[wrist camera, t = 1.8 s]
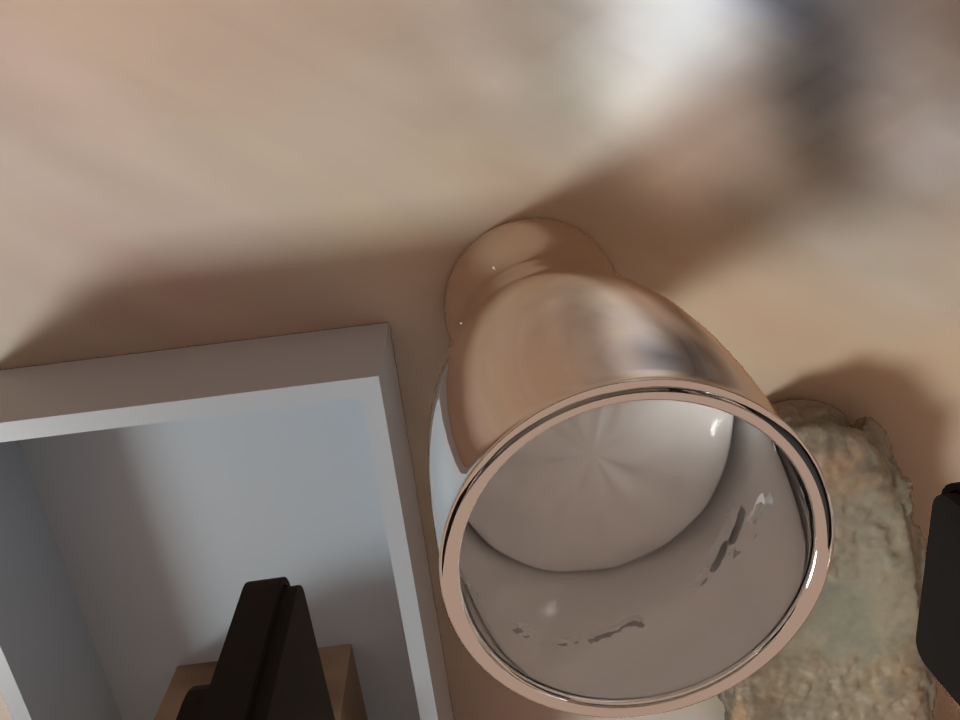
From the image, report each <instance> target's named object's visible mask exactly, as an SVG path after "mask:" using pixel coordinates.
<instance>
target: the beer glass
mask: <svg viewBox="0 0 960 720" xmlns="http://www.w3.org/2000/svg"><path fill="white" fill-rule="evenodd" d="M444 308H445V318H446V324H447V328H448V331H449V334H450V337H451V340H452V344H451V346H450V348H449V350H448V352H447V354H446V357H445V360H444V363H443V366H442V369H441V372H440V375H439V378H438V381H437V384H436V388H435V391H434V396H433V401H432V407H431V417H430V428H429V438H428V464H429V486H430V497H431V506H432V514H433V522H434V529H435V535H436V541H437V547H438V554H439V582H440V589H441V595H442V599H443V603H444V606H445V610H446V612H447V615H448V618H449V620H450V623H451V625H452V627H453V629H454V631H455V633H456V635H457V636H458V638H459V640H460V641H461V643H462V644H463V646H464V647H465V649H466V650H467V651H468V653H469V654H470V655H471V656H472V658H473V659H474V660H475V661H476V662H477V663H478V664H479V665H480V666H481V667H482V668H483V669H484V670H485V671H486V672H487V673H488V674H490V675H491V676H492V677H493V678H494V679H496V680H497V681H498V682H500V683H501V684H503V685H504V686H506V687H507V688H509V689H510V690H512V691H514V692H515V693H517V694H519V695H521V696H523V697H525V698H527V699H529V700H531V701H533V702H536V703H538V704H541V705H544V706H546V707H549V708H553V709H556V710H559V711H563V712H568V713H572V714H577V715H583V716H592V717H605V718H627V717H639V716H647V715H654V714H660V713H665V712H669V711H673V710H677V709H681V708H684V707H687V706H690V705H693V704H696V703H699V702H702V701H704V700H707V699H709V698H711V697H714V696H716V695H718V694H720V693H722V692H724V691H726V690H728V689H730V688H731V687H733V686H735V685H737V684H738V683H740V682H742V681H743V680H745V679H746V678H748V677H750V676H751V675H752V674H754V673H755V672H757V671H758V670H759V669H761V668H762V667H763V666H764V665H766V664H767V663H768V662H769V661H770V660H771V659H773V658H774V657H775V656H776V655H777V654H778V653H779V652H780V651H781V650H782V649H783V648H784V647H785V646H786V645H787V644H788V643H789V642H790V641H791V639H792V638H793V637H794V636H795V635H796V633H797V632H798V631H799V630H800V628H801V627H802V625H803V624H804V623H805V621H806V620H807V618H808V617H809V615H810V613H811V612H812V610H813V608H814V607H815V605H816V603H817V601H818V599H819V597H820V595H821V592H822V590H823V588H824V585H825V582H826V579H827V576H828V573H829V570H830V566H831V562H832V557H833V551H834V542H835V517H834V508H833V503H832V498H831V494H830V491H829V488H828V484H827V482H826V479H825V477H824V474H823V472H822V470H821V468H820V466H819V464H818V462H817V460H816V459H815V457H814V455H813V454H812V452H811V451H810V449H809V448H808V446H807V445H806V444H805V443H804V441H803V440H802V439H801V438H800V437H799V435H798V434H797V433H796V432H795V431H794V430H793V429H792V428H791V427H790V426H789V425H788V424H786V423H785V422H784V420H783V419H782V418H781V416H780V415H779V413H778V412H777V411H776V409H775V408H774V407H773V405H772V404H771V402H770V401H769V400H768V398H767V397H766V396H765V394H764V393H763V392H762V391H761V389H760V388H759V387H758V386H757V384H756V383H755V382H754V380H753V379H752V378H751V377H750V375H749V374H748V373H747V372H746V370H745V369H744V368H743V366H742V365H741V364H740V363H739V362H738V361H737V360H736V359H735V358H734V357H733V356H732V354H731V353H730V352H729V351H728V350H727V349H726V348H725V347H724V346H723V345H722V344H721V343H720V342H719V340H718V339H717V338H716V337H715V336H714V335H713V334H712V333H711V332H709V331H708V330H707V329H706V328H705V327H704V326H703V325H701V324H700V323H699V322H698V321H696V320H695V319H694V318H693V317H691V316H690V315H689V314H688V313H687V312H685V311H684V310H683V309H682V308H680V307H679V306H678V305H676V304H675V303H674V302H672V301H671V300H669V299H668V298H666V297H664V296H662V295H661V294H659V293H657V292H655V291H653V290H651V289H649V288H647V287H645V286H643V285H641V284H639V283H637V282H635V281H632V280H630V279H628V278H625V277H622V276H619V275H616V274H615V271H614V269H613V267H612V265H611V263H610V261H609V259H608V258H607V256H606V255H605V253H604V252H603V251H602V249H601V248H600V247H599V246H598V245H597V244H596V243H595V242H594V241H593V240H592V239H591V238H590V237H588V236H587V235H586V234H584V233H583V232H581V231H580V230H578V229H576V228H574V227H572V226H570V225H567V224H565V223H561V222H558V221H554V220H548V219H522V220H516V221H512V222H509V223H506V224H503V225H500V226H498V227H496V228H494V229H492V230H490V231H488V232H487V233H485V234H483V235H482V236H481V237H479V238H478V239H477V240H476V241H474V242H473V243H472V244H471V245H470V246H469V247H468V248H467V249H466V251H465V252H464V253H463V254H462V256H461V257H460V258H459V260H458V262H457V263H456V265H455V267H454V269H453V271H452V273H451V275H450V278H449V281H448V284H447V287H446V293H445V302H444Z"/></svg>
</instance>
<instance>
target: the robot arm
mask: <svg viewBox="0 0 960 720" xmlns="http://www.w3.org/2000/svg"><path fill="white" fill-rule="evenodd" d="M916 646H917V650H918V653H919V655H920V657H921V659H922V661H923V663H924V664H925V665H926V667H927V668H928V669H929V670H930V671H931V673H932V674H933V675H934V676H935V677H936V678H937V680H938V681H939V682H940V683H941V684H942V685H943V687H944V688H945V689H946V690H947V691H948V692H949V694H950V695H951V696H952V697H953V698H954V700H955V701H956V702H957V703H958V704H959V705H960V482H956V483H950V484H948V485H946V486H945V488H944V489H943V491H942V494H941V495H939V496H936V498H935V499H934V501H933V505H932V513H931V521H930V529H929V537H928V544H927V552H926V560H925V568H924V576H923V584H922V592H921V600H920V607H919V615H918V623H917V631H916ZM176 720H335V717H334V713H333V709H332V705H331V701H330V696H329V692H328V688H327V684H326V680H325V676H324V671H323V667H322V663H321V659H320V655H319V651H318V647H317V642H316V638H315V634H314V630H313V626H312V622H311V617H310V613H309V609H308V605H307V601H306V597H305V593H304V589H303V587H302V586H301V585H295V586H290V583H289V581H288V579H287V578H286V577H278V578H271V579H264V580H256V581H249V582H246V583H245V584H244V586H243V588H242V591H241V594H240V597H239V600H238V603H237V606H236V609H235V612H234V615H233V618H232V621H231V624H230V627H229V630H228V633H227V636H226V639H225V642H224V645H223V648H222V651H221V654H220V657H219V660H218V662H217V665H216V668H215V671H214V674H213V677H212V680H211V683H210V684H206V685H199V686H193V687H192V688H191V689H190V690H189V691H188V692H187V694H186V696H185V698H184V700H183V702H182V705H181V707H180V710H179V713H178V715H177V718H176Z"/></svg>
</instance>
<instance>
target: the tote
mask: <svg viewBox="0 0 960 720" xmlns="http://www.w3.org/2000/svg"><path fill="white" fill-rule="evenodd" d="M278 577H286V578H287V579H288V581H289V583H290V586H295V585H301V586H302V587H303V589H304V593H305V597H306V601H307V605H308V609H309V613H310V617H311V622H312V626H313V630H314V634H315V638H316V642H317V647H318V648H322V647H330V646H338V645H346V644H352V649H353V654H354V658H355V663H356V668H357V672H358V677H359V681H360V686H361V691H362V695H363V700H364V704H365V709H366V714H367V718H368V720H454V718H453V712H452V706H451V700H450V694H449V688H448V681H447V675H446V669H445V663H444V657H443V651H442V645H441V639H440V632H439V626H438V620H437V614H436V608H435V602H434V596H433V589H432V583H431V577H430V571H429V565H428V559H427V553H426V547H425V540H424V534H423V528H422V522H421V516H420V510H419V504H418V498H417V491H416V485H415V479H414V473H413V467H412V461H411V455H410V448H409V442H408V436H407V430H406V424H405V418H404V412H403V406H402V399H401V393H400V387H399V381H398V375H397V369H396V363H395V357H394V350H393V344H392V338H391V332H390V326H389V322H388V323H380V324H372V325H364V326H356V327H348V328H340V329H331V330H323V331H315V332H307V333H299V334H291V335H283V336H275V337H267V338H258V339H250V340H242V341H234V342H226V343H218V344H210V345H202V346H193V347H185V348H177V349H169V350H161V351H153V352H145V353H137V354H129V355H120V356H112V357H104V358H96V359H88V360H80V361H72V362H64V363H55V364H47V365H39V366H31V367H23V368H15V369H7V370H0V692H1V694H2V696H3V698H4V701H5V703H6V705H7V708H8V710H9V712H10V714H11V717H12V719H13V720H154V719H155V716H156V714H157V712H158V710H159V707H160V705H161V703H162V700H163V698H164V696H165V694H166V691H167V689H168V687H169V684H170V682H171V680H172V678H173V675H174V673H175V671H176V668H177V666H181V665H189V664H197V663H205V662H213V661H218V660H219V657H220V654H221V651H222V648H223V645H224V642H225V639H226V636H227V633H228V630H229V627H230V624H231V621H232V618H233V615H234V612H235V609H236V606H237V603H238V600H239V597H240V594H241V591H242V588H243V586H244V584H245V583H246V582H249V581H256V580H264V579H271V578H278Z"/></svg>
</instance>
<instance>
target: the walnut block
mask: <svg viewBox="0 0 960 720" xmlns="http://www.w3.org/2000/svg"><path fill="white" fill-rule="evenodd" d="M318 651H319V655H320V659H321V663H322V667H323V671H324V676H325V680H326V684H327V688H328V692H329V696H330V701H331V705H332V709H333V713H334V717H335V720H368V718H367V714H366V709H365V704H364V700H363V695H362V691H361V686H360V681H359V677H358V672H357V668H356V663H355V658H354V654H353V649H352V644H346V645H338V646H330V647H322V648H318ZM217 662H218V661H213V662H205V663H197V664H189V665H181V666H177V668H176V671H175V673H174V675H173V678H172V680H171V682H170V684H169V687H168V689H167V691H166V694H165V696H164V698H163V700H162V703H161V705H160V707H159V710H158V712H157V714H156V716H155V719H154V720H176V718H177V715H178V713H179V710H180V707H181V705H182V702H183V700H184V698H185V696H186V694H187V692H188V691H189V690H190V689H191V688H192V687H193V686H199V685H206V684H210V683H211V680H212V677H213V674H214V671H215V668H216V665H217Z"/></svg>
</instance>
